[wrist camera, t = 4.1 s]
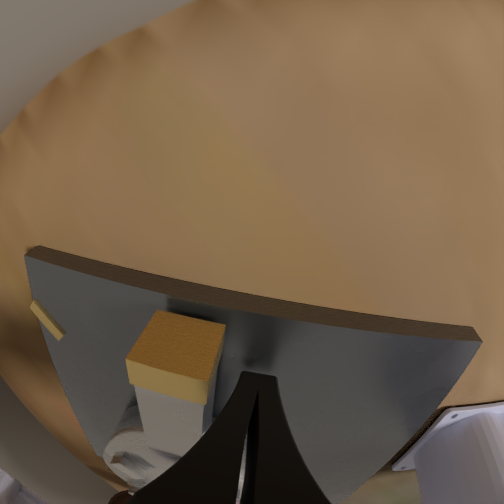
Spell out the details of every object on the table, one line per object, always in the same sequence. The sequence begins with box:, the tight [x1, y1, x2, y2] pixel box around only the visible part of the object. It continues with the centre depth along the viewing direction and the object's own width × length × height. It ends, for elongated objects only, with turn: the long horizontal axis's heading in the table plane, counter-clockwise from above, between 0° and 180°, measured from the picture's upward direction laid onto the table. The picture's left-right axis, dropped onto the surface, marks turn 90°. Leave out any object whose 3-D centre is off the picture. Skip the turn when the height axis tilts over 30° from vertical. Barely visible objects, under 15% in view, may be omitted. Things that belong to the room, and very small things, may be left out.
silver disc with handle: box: [103, 309, 247, 504], centre depth 12 cm, size 15×9×4 cm, turn 171°
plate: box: [24, 246, 483, 503], centre depth 15 cm, size 22×20×1 cm
